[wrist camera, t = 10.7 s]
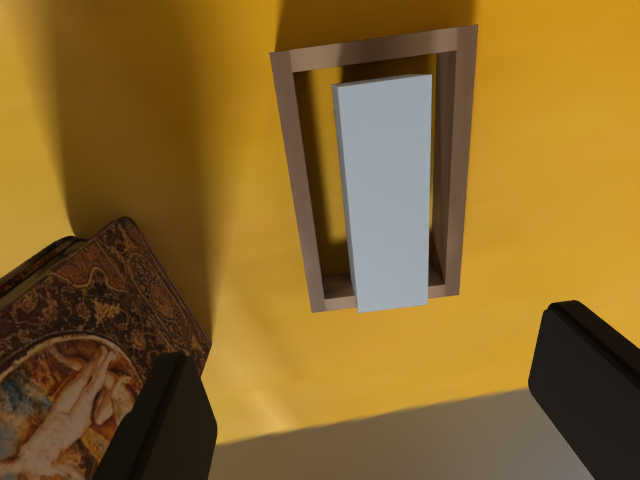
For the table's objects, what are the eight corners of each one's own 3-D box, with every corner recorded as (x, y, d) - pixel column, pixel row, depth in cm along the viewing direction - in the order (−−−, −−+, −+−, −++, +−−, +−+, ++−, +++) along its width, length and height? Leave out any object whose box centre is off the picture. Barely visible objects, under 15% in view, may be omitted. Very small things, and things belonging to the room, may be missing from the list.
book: (217, 352, 35) (62, 850, 13) (169, 366, 36) (-62, 866, 13) (128, 210, 28) (-581, 764, 6) (69, 231, 29) (-781, 805, 6)
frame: (311, 289, 32) (311, 312, 29) (274, 55, 24) (269, 52, 20) (443, 272, 32) (459, 294, 29) (454, 30, 23) (478, 24, 20)
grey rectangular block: (331, 84, 22) (337, 87, 18) (408, 73, 22) (431, 74, 18) (351, 279, 29) (358, 312, 25) (410, 271, 29) (427, 304, 25)
